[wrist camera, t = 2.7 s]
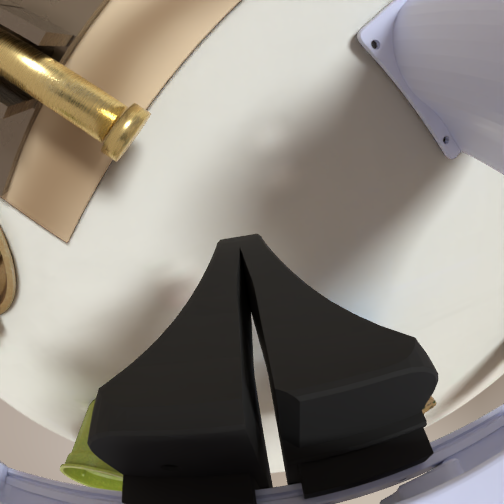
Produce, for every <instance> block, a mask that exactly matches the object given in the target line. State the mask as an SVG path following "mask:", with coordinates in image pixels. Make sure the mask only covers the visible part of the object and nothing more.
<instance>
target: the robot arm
mask: <svg viewBox="0 0 504 504" xmlns="http://www.w3.org/2000/svg"><path fill="white" fill-rule="evenodd" d="M357 39H358V41H359V43H360V44H361V45H362V46H363V47H364V48H365V49H366V50H367V51H368V53H369V54H370V55H371V56H372V57H373V58H374V59H375V60H376V62H377V63H378V64H379V65H380V66H381V67H382V68H383V70H384V71H385V72H386V73H387V74H388V76H389V77H390V78H391V79H392V81H393V82H394V83H395V84H396V86H397V87H398V88H399V89H400V91H401V92H402V93H403V94H404V96H405V97H406V98H407V100H408V101H409V102H410V104H411V105H412V107H413V108H414V109H415V111H416V112H417V113H418V115H419V116H420V118H421V119H422V121H423V122H424V123H425V125H426V126H427V128H428V129H429V131H430V132H431V134H432V135H433V137H434V138H435V140H436V142H437V143H438V145H439V146H440V148H441V149H442V151H443V153H444V154H445V156H446V157H447V158H449V159H454V158H456V157H457V156H458V154H459V153H460V152H461V151H463V152H464V153H466V154H468V155H470V156H472V157H474V158H476V159H477V160H479V161H481V162H483V163H485V164H486V165H488V166H490V167H492V168H493V169H495V170H497V171H498V172H500V173H502V174H503V175H504V0H393V1H392V2H391V3H390V4H389V5H387V6H386V7H385V8H384V9H383V10H382V11H381V12H379V13H378V14H377V15H376V16H375V17H374V18H373V19H372V20H370V21H369V22H368V23H367V24H366V25H365V26H364V27H363V28H362V29H360V30H359V32H358V33H357ZM372 41H375V42H376V44H377V47H376V49H374V48H372V46H371V42H372ZM444 137H446V138H445V141H444V142H443V138H444ZM251 313H252V316H253V320H254V324H255V327H256V331H257V334H258V338H259V342H260V345H261V349H262V352H263V356H264V359H265V363H266V367H267V371H268V376H269V381H270V387H271V393H272V399H273V404H274V410H275V416H276V421H277V427H278V433H279V438H280V444H281V449H282V455H283V461H284V466H285V472H286V478H287V483H288V485H286V486H280V487H273V486H272V480H271V475H270V469H269V463H268V457H267V452H266V446H265V440H264V434H263V428H262V421H261V415H260V409H259V403H258V396H257V390H256V383H255V376H254V366H253V344H252V322H251ZM437 382H438V373H437V371H436V369H435V367H434V365H433V364H432V362H431V360H430V358H429V357H428V355H427V353H426V352H425V351H424V349H423V348H422V347H421V345H420V344H419V343H418V341H417V340H416V338H414V337H412V336H409V335H406V334H403V333H400V332H397V331H394V330H391V329H388V328H385V327H382V326H380V325H377V324H375V323H373V322H371V321H368V320H366V319H364V318H361V317H359V316H357V315H355V314H353V313H351V312H349V311H348V310H346V309H344V308H342V307H340V306H339V305H337V304H335V303H333V302H331V301H330V300H328V299H327V298H325V297H324V296H322V295H321V294H319V293H318V292H317V291H315V290H314V289H312V288H311V287H310V286H308V285H307V284H306V283H305V282H303V281H302V280H301V279H300V278H299V277H298V276H296V275H295V274H294V273H293V272H292V271H291V270H290V269H289V268H288V267H287V266H286V265H285V264H284V263H283V262H282V261H281V260H280V259H279V258H278V257H277V256H276V255H275V254H274V253H273V252H272V251H271V249H270V248H269V247H268V246H267V244H266V243H265V242H264V240H263V239H262V237H261V236H260V235H258V234H253V235H247V236H241V237H235V238H229V239H223V240H220V241H219V242H218V243H217V246H216V249H215V252H214V254H213V257H212V259H211V261H210V263H209V265H208V267H207V269H206V271H205V273H204V275H203V277H202V279H201V281H200V282H199V284H198V286H197V288H196V289H195V291H194V293H193V294H192V296H191V297H190V299H189V300H188V302H187V303H186V305H185V306H184V308H183V309H182V311H181V312H180V313H179V315H178V316H177V317H176V319H175V320H174V321H173V322H172V323H171V325H170V326H169V327H168V328H167V329H166V330H165V332H164V333H163V334H162V335H161V336H160V337H159V338H158V339H157V340H156V341H155V342H154V343H153V344H152V345H151V346H150V347H149V348H148V349H147V350H146V351H145V352H144V353H143V354H142V355H141V356H140V357H138V358H137V359H136V360H135V361H134V362H133V363H132V364H130V365H129V366H128V367H127V368H126V369H124V370H123V371H122V372H120V373H119V374H118V375H116V376H115V377H114V378H113V379H111V380H110V381H109V382H107V383H106V384H105V385H103V386H102V387H100V388H99V390H98V394H97V397H96V400H95V403H94V407H93V412H92V417H91V423H90V429H89V434H88V441H87V444H88V446H89V448H90V450H91V451H92V452H93V453H94V454H95V455H96V456H97V457H98V458H99V459H101V460H102V461H104V462H105V463H106V464H108V465H109V466H111V467H112V468H114V469H115V470H117V471H118V472H120V473H121V474H123V485H122V491H115V490H106V489H99V488H92V487H86V486H80V485H75V484H70V483H65V482H60V481H55V480H51V479H47V478H43V477H39V476H35V475H32V474H28V473H25V472H21V471H18V470H15V469H12V468H8V467H7V466H6V465H5V464H4V463H2V462H1V461H0V504H335V503H340V502H343V501H347V500H351V499H354V498H358V497H361V496H364V495H367V494H370V493H373V492H376V491H379V490H382V489H385V488H388V487H391V486H393V485H396V484H398V483H401V482H404V481H406V480H409V479H411V478H414V477H416V476H418V475H421V474H423V473H425V472H427V473H425V474H423V475H421V476H419V477H417V478H415V479H413V480H411V481H409V482H407V483H405V484H403V485H401V486H399V488H398V490H397V491H396V492H395V493H393V494H392V495H390V496H389V497H387V498H385V499H383V500H381V502H380V504H504V404H502V405H501V406H499V407H497V408H496V409H494V410H492V411H491V412H489V413H487V414H486V415H484V416H482V417H480V418H478V419H477V420H475V421H473V422H471V423H470V424H467V425H466V426H464V427H462V428H460V429H458V430H456V431H454V432H452V433H450V434H448V435H445V436H443V437H441V438H439V439H437V440H435V441H432V442H429V440H428V438H427V435H426V433H425V431H424V428H423V427H425V426H426V425H427V423H426V419H425V417H424V414H423V412H422V409H423V408H424V406H425V405H426V403H427V402H428V400H429V398H430V397H431V395H432V394H433V392H434V390H435V387H436V385H437ZM430 470H431V471H430ZM428 471H429V472H428Z"/></svg>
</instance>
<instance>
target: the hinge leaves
mask: <svg viewBox="0 0 504 504" xmlns="http://www.w3.org/2000/svg"><path fill="white" fill-rule="evenodd" d="M109 1H110V0H0V28H1V29H3V30H5V31H7V32H8V33H10V34H12V35H14V36H15V37H17V38H19V39H21V40H22V41H24V42H26V43H28V44H29V45H31V46H33V47H34V48H36V49H38V50H39V51H41V52H43V53H44V54H46V55H48V56H49V57H51V58H53V59H54V60H56V61H57V62H59V63H61V64H62V65H64V66H65V64H66V62H67V61H68V59H69V57H70V56H71V54H72V53H73V51H74V50H75V48H76V46H77V45H78V43H79V42H80V40H81V39H82V38H83V36H84V35H85V33H86V32H87V30H88V29H89V28H90V26H91V25H92V23H93V22H94V21H95V19H96V18H97V17H98V15H99V14H100V13H101V11H102V10H103V9H104V8H105V6H106V5H107V4H108V3H109ZM42 106H43V104H42V103H41V102H39V101H38V100H36V99H35V98H33V97H32V96H30V95H29V94H27V93H26V92H24V91H23V90H21V89H20V88H18V87H17V86H15V85H14V84H12V83H11V82H9V81H8V80H6V79H5V78H3V77H2V76H0V196H3V195H4V194H5V193H6V192H8V189H9V186H10V183H11V180H12V177H13V174H14V171H15V168H16V166H17V163H18V160H19V158H20V155H21V152H22V150H23V148H24V145H25V143H26V140H27V138H28V136H29V133H30V131H31V129H32V127H33V124H34V122H35V120H36V118H37V116H38V114H39V112H40V110H41V108H42Z"/></svg>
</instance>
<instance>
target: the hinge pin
mask: <svg viewBox="0 0 504 504" xmlns="http://www.w3.org/2000/svg"><path fill="white" fill-rule="evenodd" d="M0 76H2V77H3V78H5V79H6V80H8V81H9V82H11V83H12V84H14V85H15V86H17V87H18V88H20V89H21V90H23V91H24V92H26V93H27V94H29V95H30V96H32V97H33V98H35V99H36V100H38V101H39V102H41V103H42V104H44V105H45V106H47V107H48V108H50V109H51V110H53V111H54V112H56V113H57V114H59V115H60V116H62V117H63V118H65V119H66V120H68V121H69V122H71V123H72V124H74V125H75V126H77V127H78V128H80V129H81V130H83V131H84V132H86V133H87V134H89V135H90V136H92V137H93V138H95V139H96V140H98V141H99V142H101V143H103V142H104V143H103V145H102V147H101V152H102V153H104V154H105V155H107V156H108V157H110V158H111V159H113V160H114V161H116V162H117V161H118V160H119V159H120V158H121V157H122V155H123V154H124V153H125V152H126V150H127V149H128V148H129V146H130V145H131V144H132V142H133V141H134V139H135V138H136V137H137V135H138V134H139V132H140V131H141V129H142V128H143V126H144V125H145V123H146V122H147V120H148V119H149V117H150V115H151V113H149V112H148V111H147V110H145V109H144V108H142V107H141V106H139V105H138V104H136V103H134V104H132V105H131V106H130V107H129V108H128V107H127V106H126V105H124V104H123V103H121V102H120V101H118V100H117V99H115V98H114V97H112V96H111V95H109V94H108V93H106V92H105V91H103V90H102V89H100V88H99V87H97V86H96V85H94V84H92V83H91V82H89V81H88V80H86V79H85V78H83V77H81V76H80V75H78V74H77V73H75V72H74V71H72V70H70V69H69V68H67V67H66V66H64V65H62V64H61V63H59V62H57V61H56V60H54V59H53V58H51V57H49V56H48V55H46V54H44V53H43V52H41V51H39V50H38V49H36V48H34V47H33V46H31V45H29V44H28V43H26V42H24V41H22V40H21V39H19V38H17V37H15V36H14V35H12V34H10V33H8V32H7V31H5V30H3V29H1V28H0ZM127 108H128V109H127Z"/></svg>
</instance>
